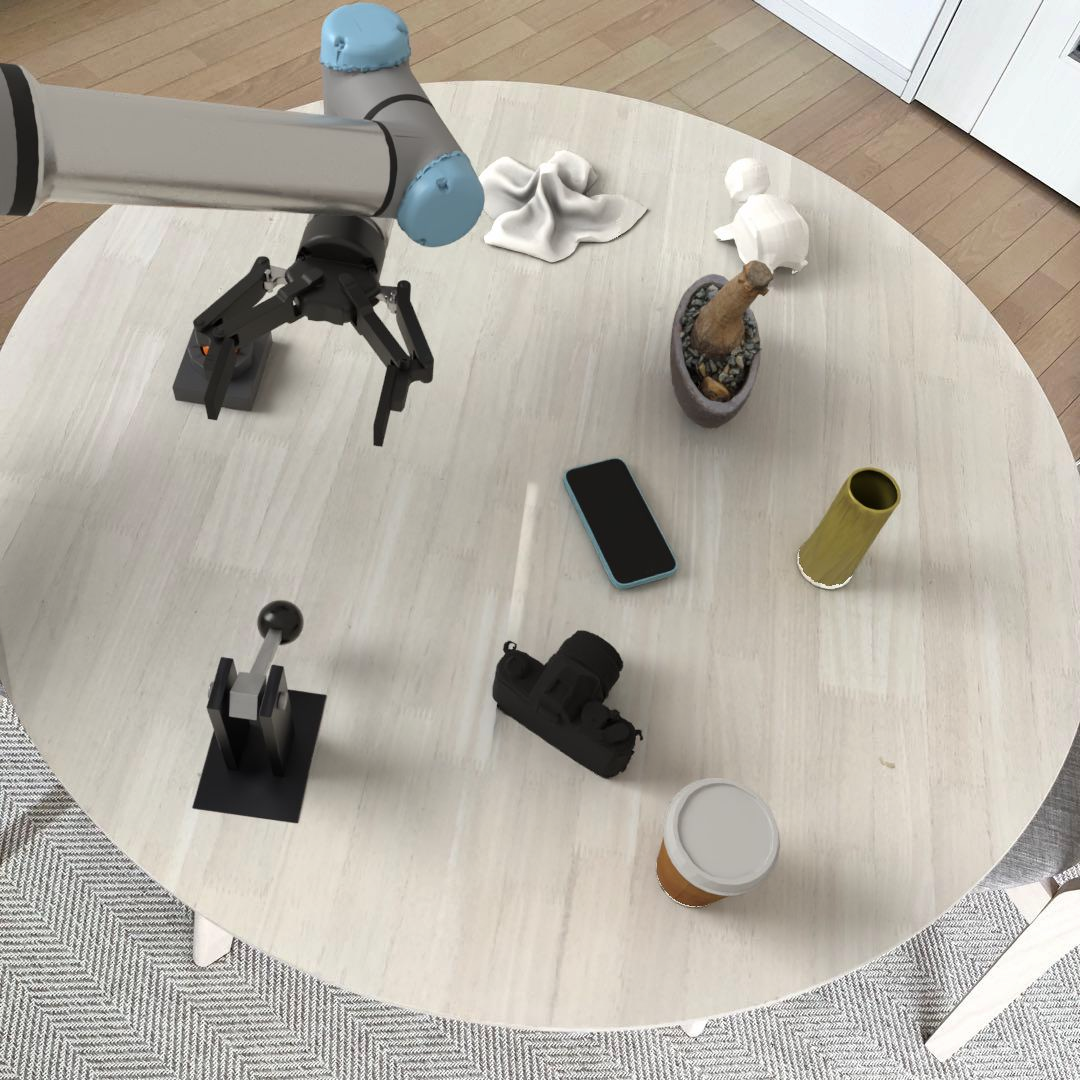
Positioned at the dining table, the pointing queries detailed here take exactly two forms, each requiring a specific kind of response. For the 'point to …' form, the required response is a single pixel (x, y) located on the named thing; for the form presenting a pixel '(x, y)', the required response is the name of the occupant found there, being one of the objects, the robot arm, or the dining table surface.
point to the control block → (243, 380)
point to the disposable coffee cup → (716, 842)
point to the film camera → (569, 701)
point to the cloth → (548, 206)
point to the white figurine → (763, 220)
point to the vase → (849, 526)
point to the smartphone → (620, 523)
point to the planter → (717, 344)
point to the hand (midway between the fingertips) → (294, 423)
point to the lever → (265, 656)
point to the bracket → (259, 750)
